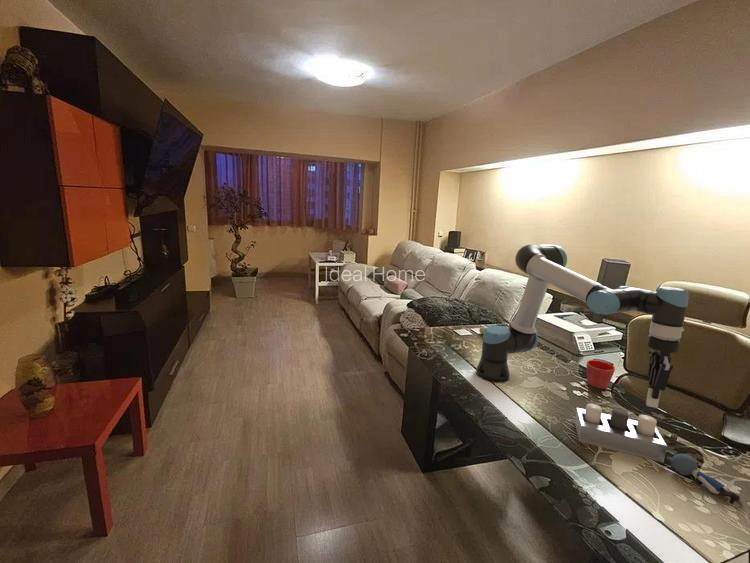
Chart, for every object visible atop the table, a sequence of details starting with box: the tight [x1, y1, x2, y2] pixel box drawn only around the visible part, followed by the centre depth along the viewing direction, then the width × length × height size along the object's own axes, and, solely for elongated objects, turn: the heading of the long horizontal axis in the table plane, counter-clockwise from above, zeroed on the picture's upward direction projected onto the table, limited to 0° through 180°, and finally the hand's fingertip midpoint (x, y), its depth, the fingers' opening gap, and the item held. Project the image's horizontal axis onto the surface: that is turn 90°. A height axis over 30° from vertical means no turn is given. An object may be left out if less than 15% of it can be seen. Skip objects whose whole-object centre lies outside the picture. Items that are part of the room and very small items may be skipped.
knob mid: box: [609, 408, 630, 431], centre depth 114 cm, size 5×5×6 cm
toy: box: [666, 453, 741, 505], centre depth 97 cm, size 7×6×15 cm
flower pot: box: [586, 359, 616, 389], centre depth 154 cm, size 11×11×10 cm
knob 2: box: [636, 414, 658, 438], centre depth 111 cm, size 5×5×6 cm
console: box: [574, 407, 668, 464], centre depth 114 cm, size 23×12×6 cm, turn 66°
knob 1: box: [584, 403, 603, 425], centre depth 117 cm, size 5×5×6 cm
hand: (651, 405), depth 109 cm, fingers closed
